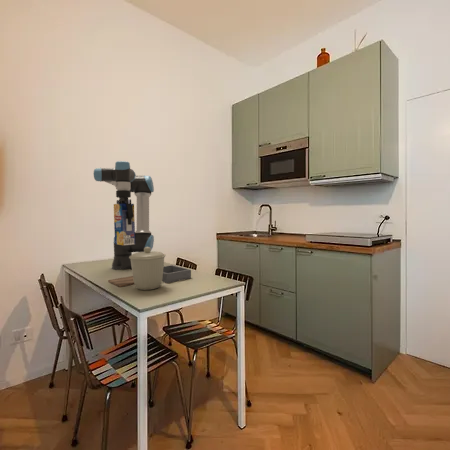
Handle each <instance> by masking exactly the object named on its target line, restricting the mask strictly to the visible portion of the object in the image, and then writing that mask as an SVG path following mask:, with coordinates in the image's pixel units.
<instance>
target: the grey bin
mask: <svg viewBox="0 0 450 450" xmlns="http://www.w3.org/2000/svg"><path fill="white" fill-rule="evenodd" d="M191 278H192V270H191V269H190V268H185V267H182V266H177V265H174V264H171V265H165V266H164V268H163V278H162V283H166V284H170V283H174V282H175V283H176V282H179V280H180V281H184V279H185V280H189V279H191Z"/></svg>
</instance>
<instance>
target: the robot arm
mask: <svg viewBox="0 0 450 450" xmlns="http://www.w3.org/2000/svg"><path fill="white" fill-rule="evenodd" d="M93 178H94V180H95V182H105V183H107V184H110V185H111V186H113V187H115V189H116V191H115V197H116V198H119V199H117V200H116V204H126V207H127V212H126V231H132V217H134V218H135V214H134V215H133V210H132V205H131V204H132V199H129V198H131V196H132V193H134V194H133V195H134V196H135V197H136V230H135V244H133V245H118V244H115V236H114V237H113V259H112V264H111V269H113V270H129V269H132V267H131V259H130V258H129V256H131V255H132V254H133V253H138V252H144V248H145V247H150V248H151V251H153V248H154V244H155V243H154V242H155V241H154V240H155V236H154V235H152V232H151V231H150V197H151V196H152V193H154V191H155V188H154V182H153V178H152V177H151V175H137V174H136V172H135V171H134V170H133V169H132V168H131V165H130V162H129V161H125V160H118V161H116V162H115V165H114V167H106V168H105V167H100V168H99V167H98V168H96V167H95V168H94V170H93Z"/></svg>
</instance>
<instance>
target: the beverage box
mask: <svg viewBox="0 0 450 450" xmlns="http://www.w3.org/2000/svg"><path fill="white" fill-rule="evenodd" d="M131 205H132V210H133V215H134V217H132V231H126V212H127V207H126V204H117V203H114V204H113V220H114V221H113V222H114V223H113V224H114V227H113V228H114V237H115V244H118V245H133V244H135V232H136V230H135V229H136V226H135V223H136V222H135V220H136V219H135V204H134V203H131Z"/></svg>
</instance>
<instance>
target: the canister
mask: <svg viewBox="0 0 450 450" xmlns="http://www.w3.org/2000/svg"><path fill="white" fill-rule="evenodd" d="M165 257H167V256H166V254H165V253H163V252H161V251H154V250H151V248H150V247H145V248H144V252H133V253H132V255H131V256H129V258H130V259H131V267H132V268H131V273H132V276H133V280H134V287H135V288H136V289H137V290H141V291H149V290H155V289H158V288H160V287H161V286H162V284H163V282H162V278H163V268H164V265H165Z"/></svg>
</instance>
